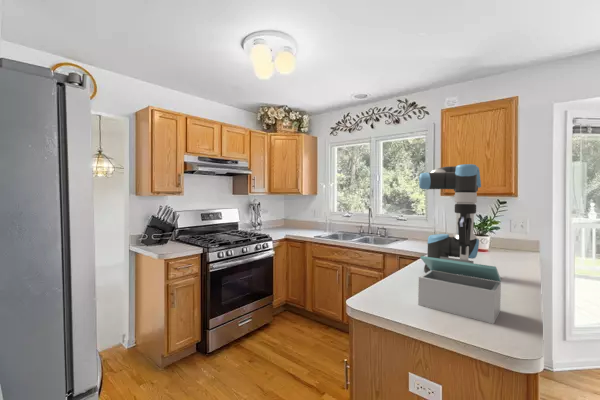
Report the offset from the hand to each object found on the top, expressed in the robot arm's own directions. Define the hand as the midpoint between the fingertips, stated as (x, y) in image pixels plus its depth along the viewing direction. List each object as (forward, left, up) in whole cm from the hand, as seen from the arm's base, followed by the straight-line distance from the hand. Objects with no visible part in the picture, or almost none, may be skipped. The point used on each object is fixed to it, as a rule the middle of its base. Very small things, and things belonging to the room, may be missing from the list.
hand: (464, 262), depth 116 cm
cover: (-4, -3, -4) cm, 6 cm away
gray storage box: (-4, -3, -20) cm, 20 cm away
